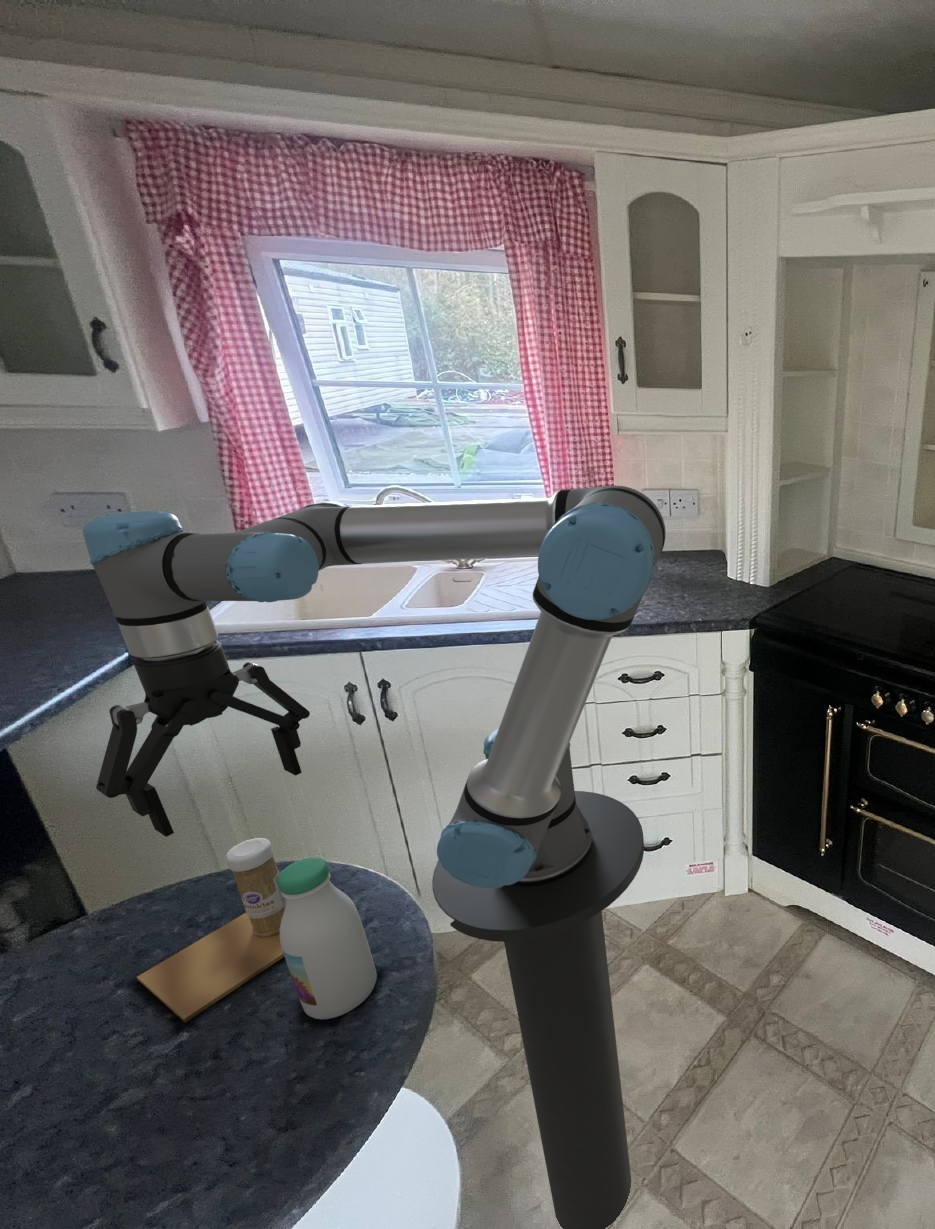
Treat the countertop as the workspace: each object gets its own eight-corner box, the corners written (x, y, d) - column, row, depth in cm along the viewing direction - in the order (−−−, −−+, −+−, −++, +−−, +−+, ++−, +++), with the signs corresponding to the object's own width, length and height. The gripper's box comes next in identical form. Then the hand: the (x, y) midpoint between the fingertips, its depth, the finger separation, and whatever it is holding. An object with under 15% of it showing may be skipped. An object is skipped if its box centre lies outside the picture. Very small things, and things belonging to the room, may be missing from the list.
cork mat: (280, 895, 96) (279, 892, 96) (328, 927, 92) (327, 924, 91) (137, 980, 83) (136, 976, 83) (184, 1022, 78) (183, 1019, 78)
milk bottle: (383, 959, 87) (349, 839, 80) (371, 1009, 81) (333, 884, 73) (313, 977, 84) (271, 855, 77) (295, 1030, 78) (247, 903, 70)
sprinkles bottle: (249, 942, 88) (219, 864, 83) (258, 918, 92) (230, 841, 87) (291, 931, 90) (265, 854, 85) (298, 907, 94) (273, 832, 89)
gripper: (281, 607, 87) (322, 743, 95) (2, 684, 66) (84, 850, 74) (314, 618, 84) (353, 757, 92) (32, 702, 63) (114, 873, 71)
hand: (233, 799), depth 83 cm, fingers open, 13 cm apart
